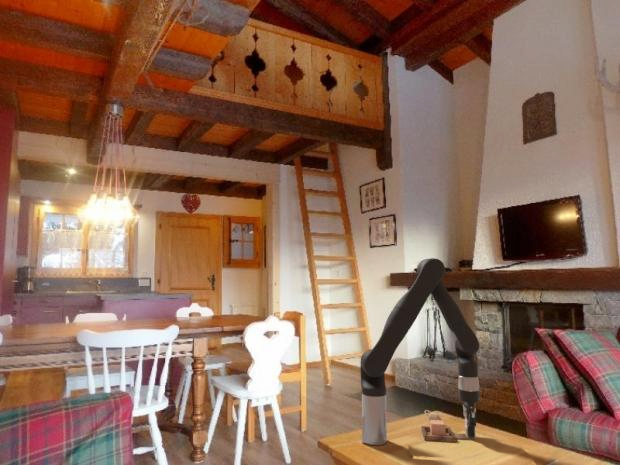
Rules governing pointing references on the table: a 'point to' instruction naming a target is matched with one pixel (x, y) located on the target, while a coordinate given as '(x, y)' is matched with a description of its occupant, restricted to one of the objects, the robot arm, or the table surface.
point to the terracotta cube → (437, 427)
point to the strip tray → (446, 434)
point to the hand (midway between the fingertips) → (470, 434)
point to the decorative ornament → (433, 416)
